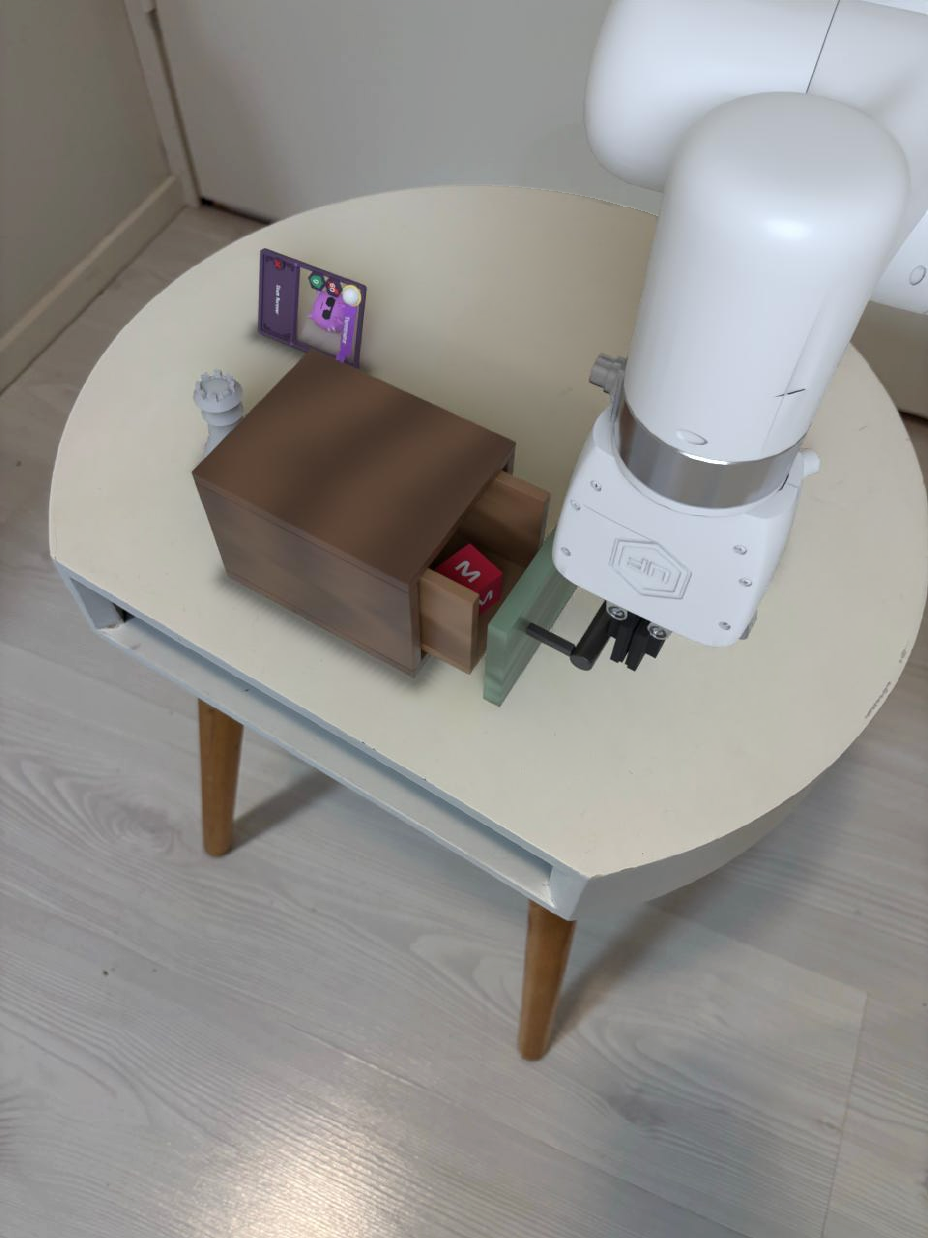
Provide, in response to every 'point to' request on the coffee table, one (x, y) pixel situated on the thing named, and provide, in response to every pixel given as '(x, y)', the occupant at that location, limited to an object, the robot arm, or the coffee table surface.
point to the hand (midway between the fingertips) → (633, 646)
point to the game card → (328, 307)
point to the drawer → (504, 593)
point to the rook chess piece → (218, 405)
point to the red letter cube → (474, 575)
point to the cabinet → (346, 500)
